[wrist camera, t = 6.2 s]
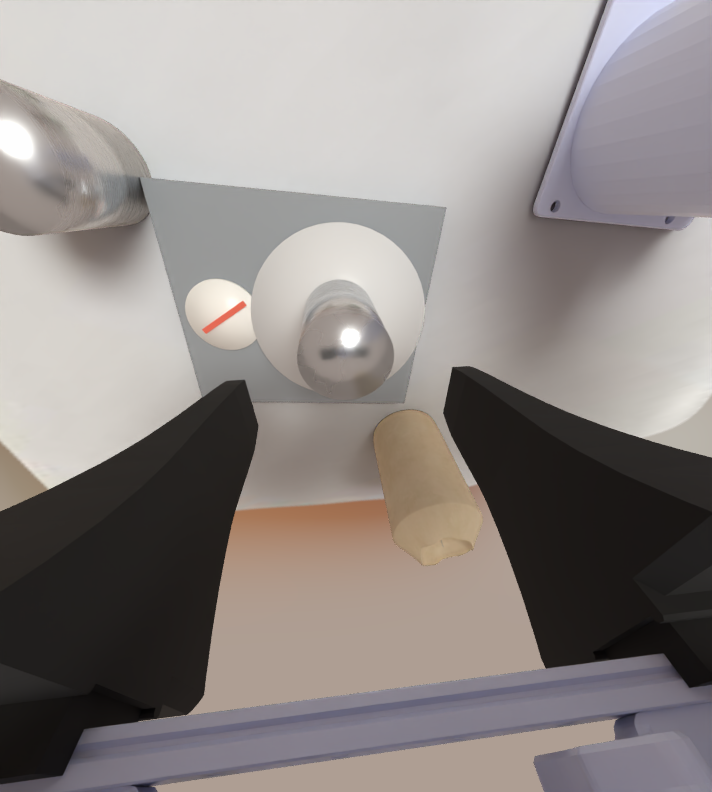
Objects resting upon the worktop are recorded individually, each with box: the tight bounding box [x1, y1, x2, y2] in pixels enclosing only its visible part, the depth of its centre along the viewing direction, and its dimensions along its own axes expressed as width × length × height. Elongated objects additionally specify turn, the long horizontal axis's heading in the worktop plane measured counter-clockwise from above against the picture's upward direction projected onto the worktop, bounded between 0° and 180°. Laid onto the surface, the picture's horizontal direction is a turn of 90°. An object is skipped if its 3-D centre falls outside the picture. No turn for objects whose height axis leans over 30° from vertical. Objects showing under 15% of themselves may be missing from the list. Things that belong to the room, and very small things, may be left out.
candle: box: [373, 410, 483, 566], centre depth 20 cm, size 6×6×10 cm
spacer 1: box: [0, 79, 151, 236], centre depth 10 cm, size 4×4×6 cm
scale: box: [140, 177, 446, 403], centre depth 16 cm, size 14×12×1 cm
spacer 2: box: [297, 279, 394, 400], centre depth 14 cm, size 4×4×6 cm
